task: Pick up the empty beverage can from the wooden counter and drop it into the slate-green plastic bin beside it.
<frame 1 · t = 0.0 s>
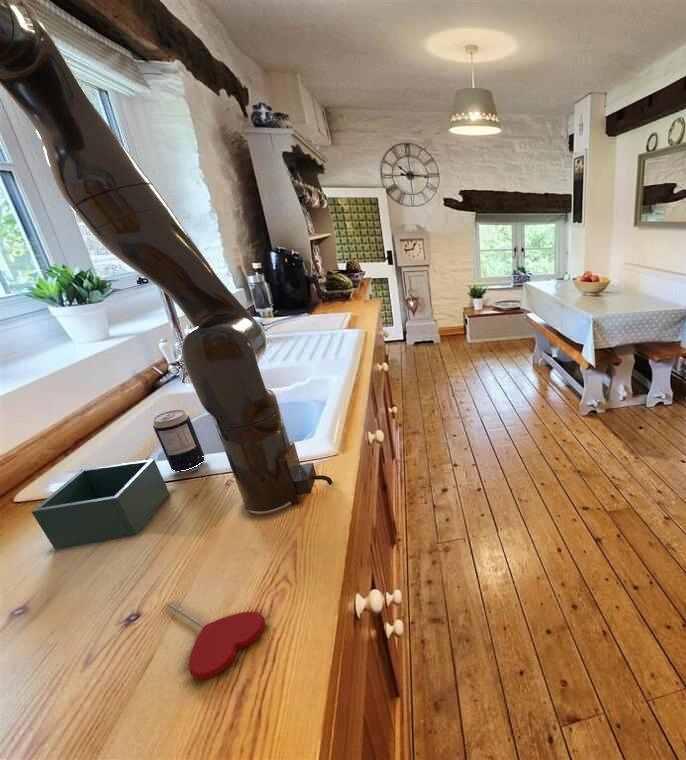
bin: (117, 519, 70), on the worktop
lollipop: (204, 630, 51), on the worktop
beverage can: (190, 468, 84), on the worktop
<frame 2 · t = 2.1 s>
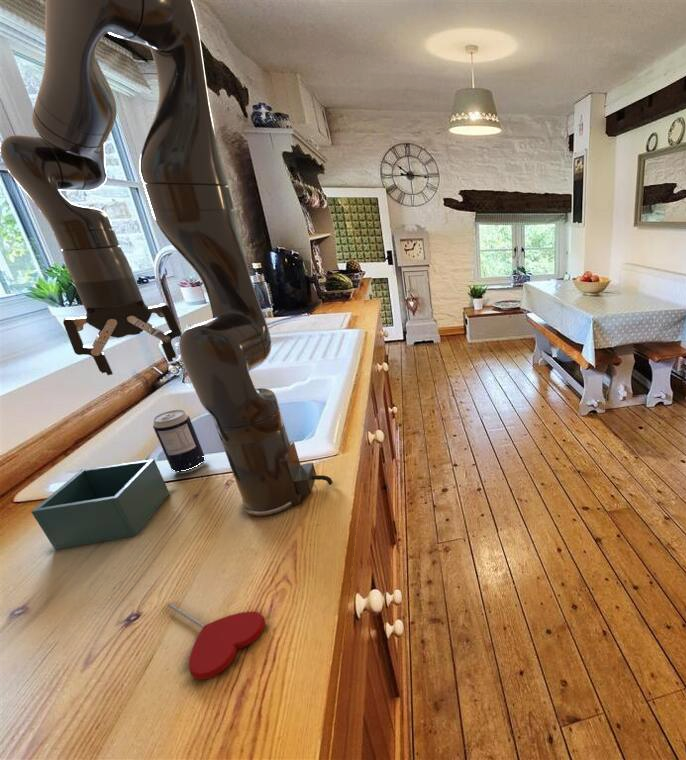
hand: (141, 367, 74), 22 cm above the worktop, tool pointing down, fingers open, 8 cm apart
nothing on the worktop moved.
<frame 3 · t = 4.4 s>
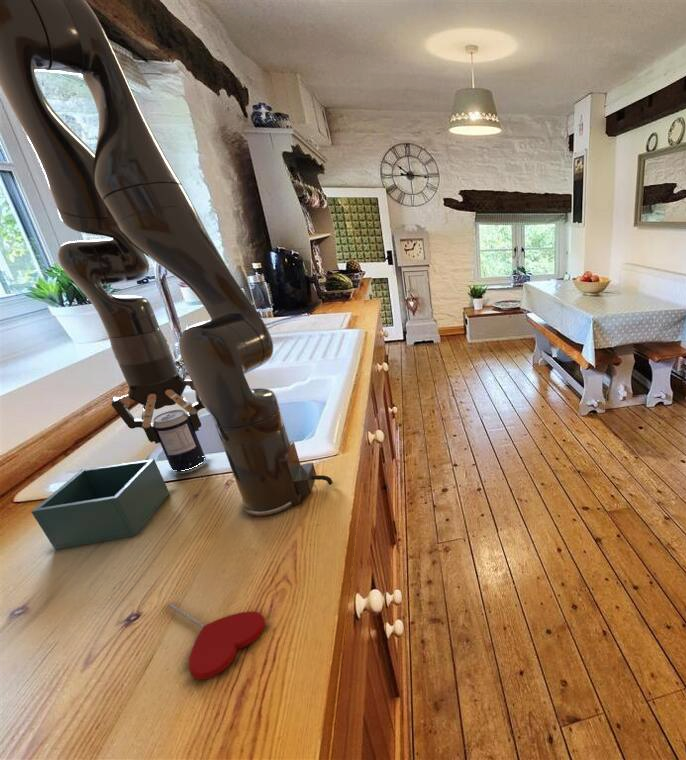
hand: (177, 435, 81), 8 cm above the worktop, tool pointing down, fingers closed on beverage can, 5 cm apart
beverage can: (190, 467, 84), on the worktop, touching gripper
everything else where it was.
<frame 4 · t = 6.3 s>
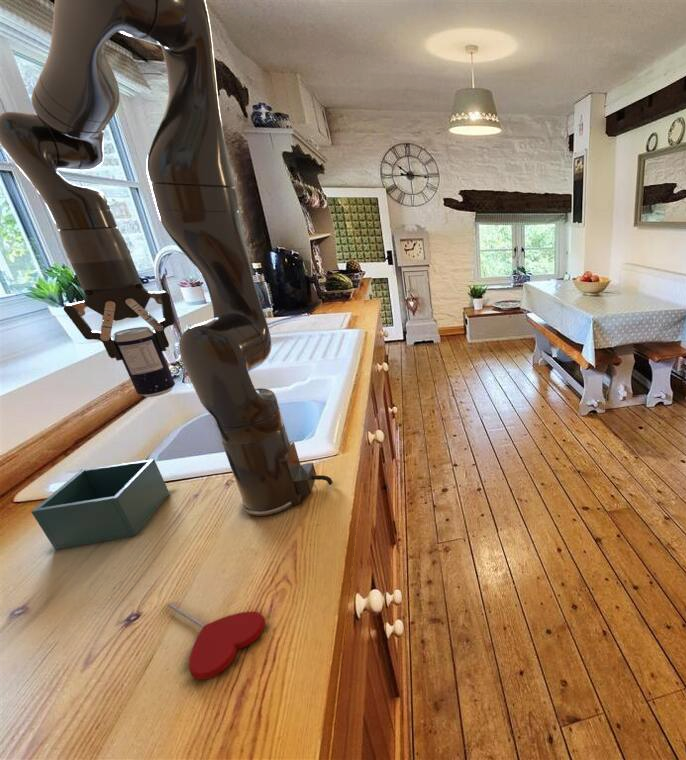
hand: (142, 354, 74), 25 cm above the worktop, tool pointing down, fingers closed on beverage can, 5 cm apart
beverage can: (158, 393, 77), point 17 cm above the worktop, touching gripper
everything else where it was.
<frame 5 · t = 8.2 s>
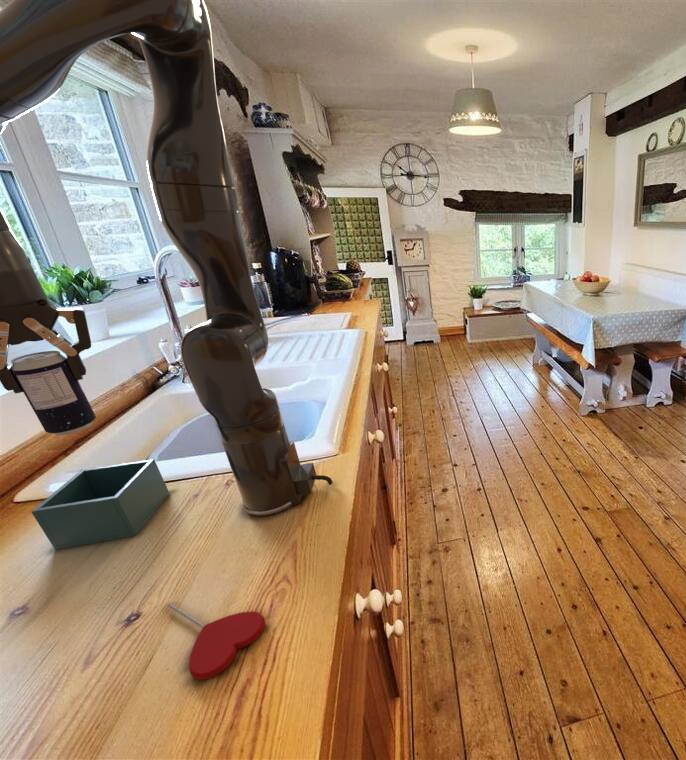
hand: (50, 384, 61), 25 cm above the worktop, tool pointing down, fingers closed on beverage can, 5 cm apart
beverage can: (74, 429, 64), point 17 cm above the worktop, touching gripper
everything else where it was.
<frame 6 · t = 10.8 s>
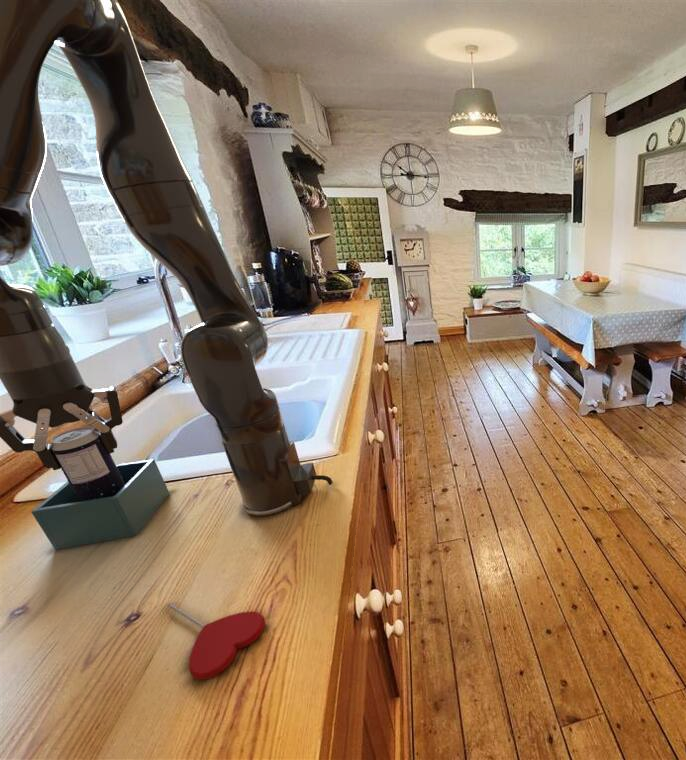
hand: (85, 458, 65), 12 cm above the worktop, tool pointing down, fingers closed on beverage can, 5 cm apart
beverage can: (105, 497, 68), point 5 cm above the worktop, touching gripper
everything else where it was.
when the fingers open (8 cm above the worktop, at t = 12.6 s): beverage can stays where it is, resting on bin.
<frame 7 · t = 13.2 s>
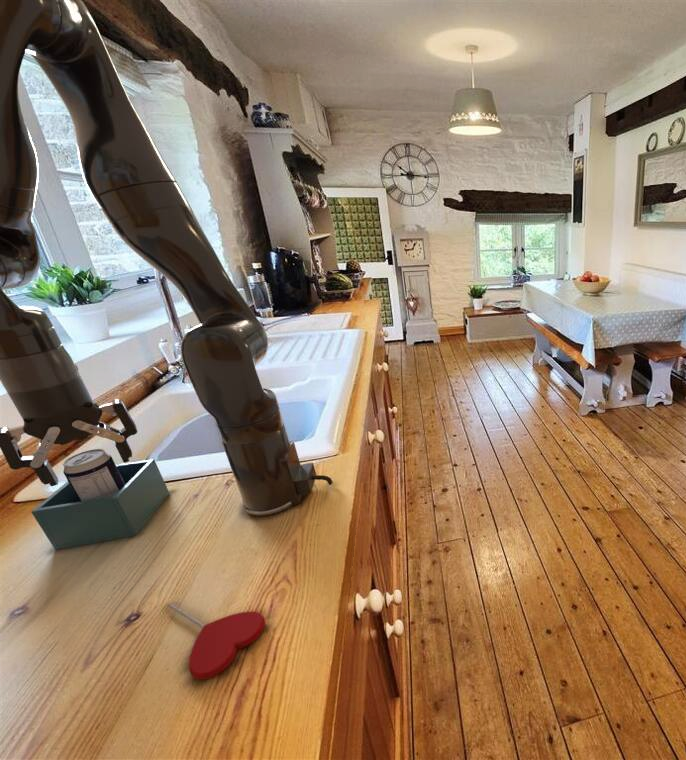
hand: (92, 471, 66), 10 cm above the worktop, tool pointing down, fingers open, 8 cm apart
beverage can: (116, 517, 70), resting on bin
everything else where it was.
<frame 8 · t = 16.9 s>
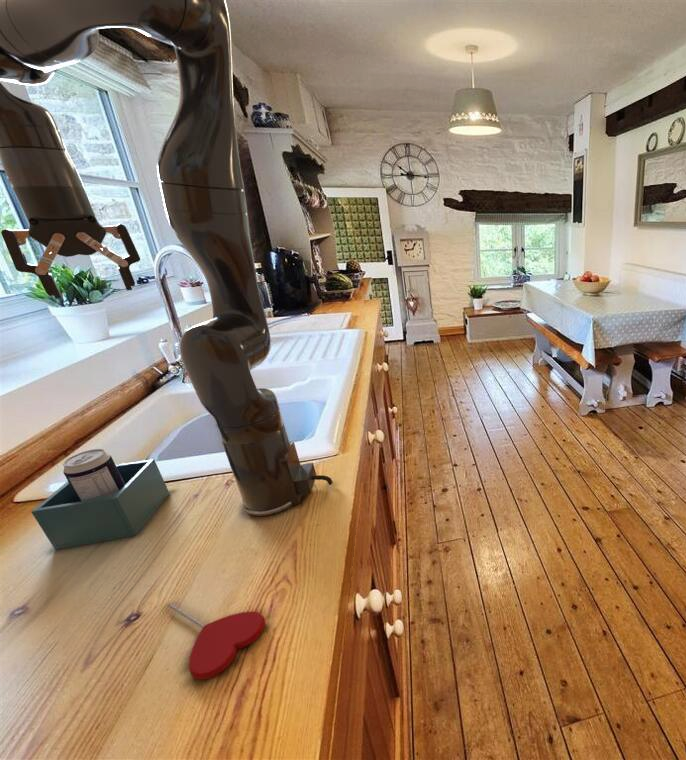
hand: (95, 293, 67), 36 cm above the worktop, tool pointing down, fingers open, 8 cm apart
nothing on the worktop moved.
at the end: beverage can inside the target area in the bin (0.0 cm from its centre), point 0.4 cm above the bin's base; the gripper is holding nothing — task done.
